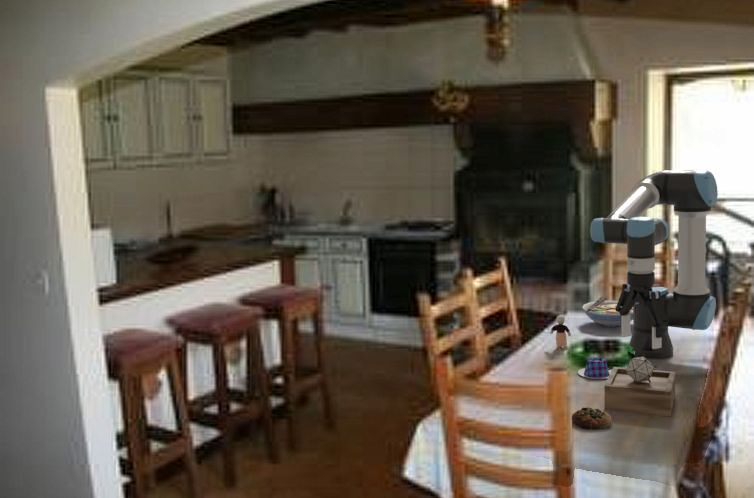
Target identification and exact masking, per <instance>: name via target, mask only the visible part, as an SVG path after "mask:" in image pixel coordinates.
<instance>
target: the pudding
mask: <svg viewBox="0 0 754 498" xmlns="http://www.w3.org/2000/svg"><path fill="white" fill-rule="evenodd" d="M608 369H610V368H609V367H608V364H607V361H606V359H604V358H602V357H590V358H588V359H587V361H586V364H585V367H583V368H580V369H579V370H578V371H577V374H578V375H579V376H582V377H583V378H584V377H585V378H587V379H594V380H595V379H596V380H603V379H608V377H609V375H610V373H611V371H612V369H610V370H608Z"/></svg>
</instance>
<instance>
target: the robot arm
mask: <svg viewBox="0 0 754 498" xmlns="http://www.w3.org/2000/svg"><path fill="white" fill-rule="evenodd" d="M718 193H719V192H718V184H717V182H716V178H715V175H714V174H713V173H712V172H711V171H710V170H704V169H703V170H702V169H683V170H681V169H680V170H676V169H675V170H670V169H669V170H668V169H667V170H661V171H656V172H654V173H651V174H649V175H647V176H645V177H643V178H642V179H640V180H638V182H637V183H635V184H634V185H633V187H632V188H631V190H630V193H629V195H628V196H627V197H625V199H623V200H622V201H621V203H619V204H618V206H617V207H616V208H615V209H613V211H611V212H610V213H609V215H607V216H606V217H598V218H594V219H593V220H592V221H591V223H590V228H589V233H590V238H591V240H592V241H593V242H595V243H603V244H622V245H625V244H626V251H627V254H626V257H627V265H626V266H627V267H626V269H627V273H626V279H627V280H626V283H622V284H621V285H622V286H621V293H620V296H619V298H618V300H617V301H618V303H617V306H616V312H619V314H620V315H621V325H620V326H621V329H620V330H621V338H626V337H628V338H629V337H630V341H629V343H628V345H629V346H631V347H633V349H634V351H635V355H636V356H635V357H636V358H637V357H643V354H645V356H644V357H645V358H646V359H653V360H654V359H666V358H669V357H672V356H673V355H674V346H673V343H672V340H671V337H670V333H669V327H671V328H678V329H679V328H680V329H688V330H693V331H695V330H697V331H698V330H699V331H705V330H708V328H709V327H710V326H711V324H712V323H713V320H714V317H715V313H716V308H717V302H716V297H715V296H712V295H711V290H710V289H709V288H708V287H707V285H706V259H707V258H706V255H707V254H706V250H707V249H706V243H707V240H706V238H707V215H709V214H710V213H711V211H712V207H714V206H716V204H717V202H718ZM661 205H664V206H666V205H667V206H673V212H674V213H675V214H676V215H677V216H678V223H677V225H678V227H677V228H678V229H677V230H678V233H677V234H678V235H677V237H678V238H677V239H678V240H677V241H678V243H677V247H678V248H677V251H678V253H677V257H678V258H677V272H678V273H677V285H676V286H675V287H673V290H672V292H670V290H669V288H668V287H664V286H654V285H655V283H656V281H655V279H656V278H655V277H656V274H655V270H656V261H655V259H656V258H655V257H656V256H655V255H656V254H655V251H656V250H655V249H656V247H655V246H657V245H660V244H662V243H664V241H665V240H667V239H668V237H669V236H670V226H669V224H668V223H667V222H666V221H665V220H664V219H662V218H658V217H655V218H654V217H648V216H644V214H645V213H646V212H647V211H648V210H649V209H652V208H654V207H656V206H661ZM653 286H654V287H653ZM632 307H633V320H632V321H631V320H630V315H627V314H630V310H631V309H632ZM631 322H632V325H633V326H632V325H631ZM631 327H632V328H633V329H632V333H631Z"/></svg>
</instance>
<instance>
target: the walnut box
mask: <svg viewBox="0 0 754 498" xmlns="http://www.w3.org/2000/svg"><path fill="white" fill-rule="evenodd" d="M626 369H627V367H621V366H620V367H619V366H612V369H611V370H612V371H611V373H610V374H609V377H608V376H607V377H608V378H606V379H607V380H606V381H605V384H604V388H603V389H604V410H606V411H617V412H626V413H633V414H634V413H635V414H644V415H646V414H647V415H655V416H662V417H663V416H665V417H671V416H672V411H673V407H674V402H675V399H676V398H675V397H676V371H671V370H670V371H668V370H655V369H654V370H653V372H652V375H651V377H650V379H649V380H650V381H651V382H649V381H642V382H637V385H636V384H635V383H636V382H635V381H634V380H633V379H632V378H631V377H630V376H629V375H628V374H627V373H626V372H625V373H623V371H626Z"/></svg>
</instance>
